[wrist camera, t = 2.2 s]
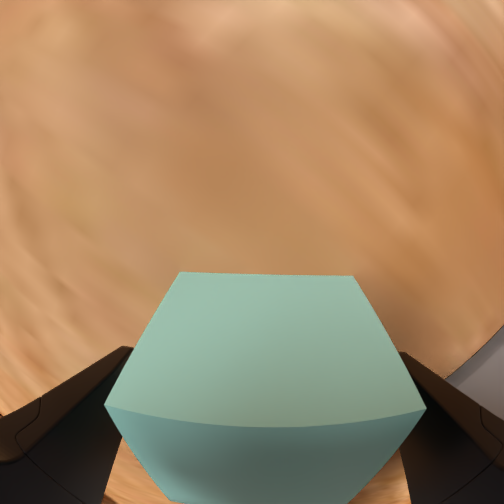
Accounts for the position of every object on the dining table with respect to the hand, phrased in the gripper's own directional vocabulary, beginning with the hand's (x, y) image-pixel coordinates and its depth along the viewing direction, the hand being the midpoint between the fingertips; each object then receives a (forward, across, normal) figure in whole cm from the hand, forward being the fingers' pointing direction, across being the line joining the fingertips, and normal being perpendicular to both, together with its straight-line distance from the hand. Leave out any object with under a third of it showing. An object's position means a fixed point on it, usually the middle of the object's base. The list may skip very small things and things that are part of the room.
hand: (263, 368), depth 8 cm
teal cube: (+1, 0, 0) cm, 1 cm away
